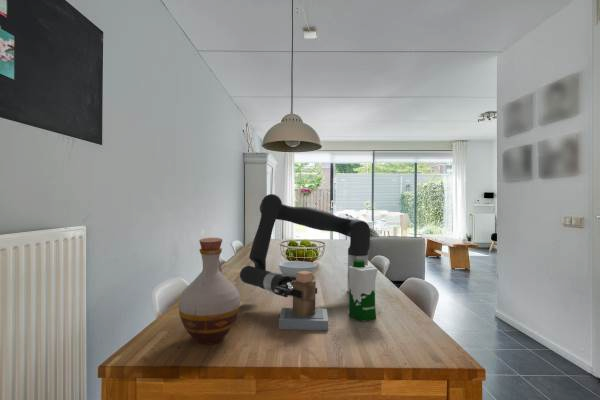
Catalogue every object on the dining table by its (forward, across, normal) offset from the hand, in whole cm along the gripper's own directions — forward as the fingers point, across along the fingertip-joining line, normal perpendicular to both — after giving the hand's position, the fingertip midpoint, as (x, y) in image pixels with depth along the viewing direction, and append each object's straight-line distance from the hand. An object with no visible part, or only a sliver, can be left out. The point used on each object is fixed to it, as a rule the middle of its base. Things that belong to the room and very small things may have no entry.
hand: (308, 292), depth 111 cm
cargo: (-2, 0, -4) cm, 4 cm away
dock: (-2, 0, +11) cm, 11 cm away
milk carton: (+8, +20, +11) cm, 24 cm away
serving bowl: (-55, +46, +11) cm, 73 cm away
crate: (-2, 0, +8) cm, 8 cm away
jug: (-12, -30, +11) cm, 34 cm away
